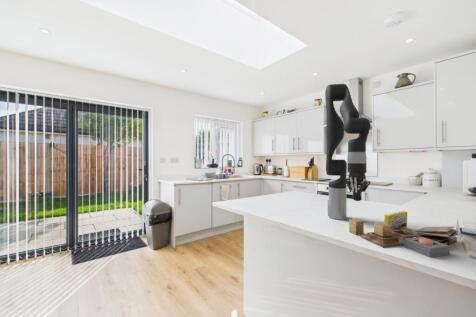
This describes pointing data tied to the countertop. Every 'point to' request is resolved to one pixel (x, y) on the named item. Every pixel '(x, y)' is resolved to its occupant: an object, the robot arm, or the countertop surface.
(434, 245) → the button housing
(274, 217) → the countertop surface
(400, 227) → the candy box
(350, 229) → the block
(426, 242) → the button
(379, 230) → the block
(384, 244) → the pallet
